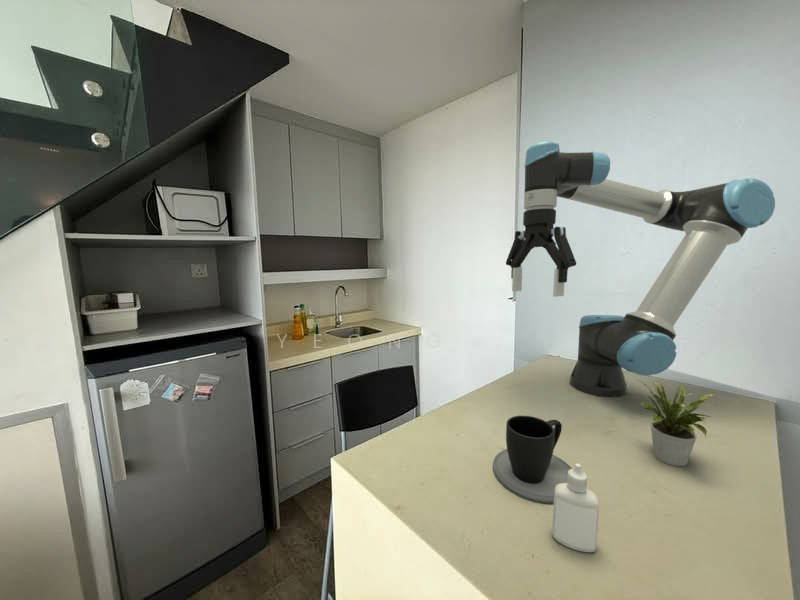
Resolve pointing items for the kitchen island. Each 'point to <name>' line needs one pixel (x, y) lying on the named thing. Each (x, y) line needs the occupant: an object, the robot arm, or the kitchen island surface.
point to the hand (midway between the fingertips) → (536, 293)
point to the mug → (531, 446)
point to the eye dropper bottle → (575, 513)
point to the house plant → (674, 426)
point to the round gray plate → (528, 491)
